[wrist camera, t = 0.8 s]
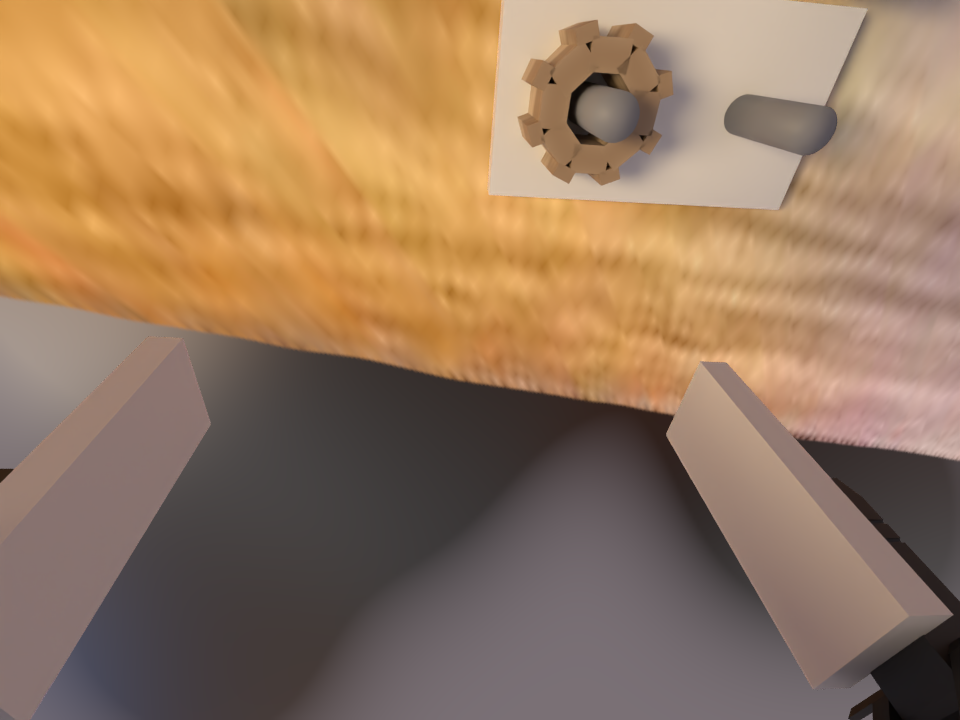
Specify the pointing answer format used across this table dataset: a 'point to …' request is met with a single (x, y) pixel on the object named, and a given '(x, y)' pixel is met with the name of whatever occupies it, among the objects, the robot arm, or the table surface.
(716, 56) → the gear board
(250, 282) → the table surface
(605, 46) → the beech gear
